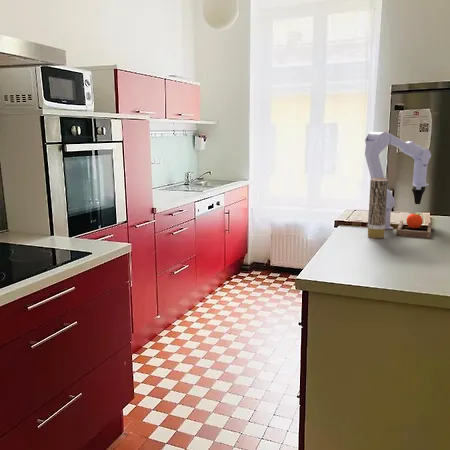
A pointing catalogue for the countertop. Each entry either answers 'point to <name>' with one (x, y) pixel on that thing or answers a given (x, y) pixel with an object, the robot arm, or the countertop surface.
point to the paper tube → (377, 207)
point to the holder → (413, 232)
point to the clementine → (414, 220)
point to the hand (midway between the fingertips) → (417, 202)
